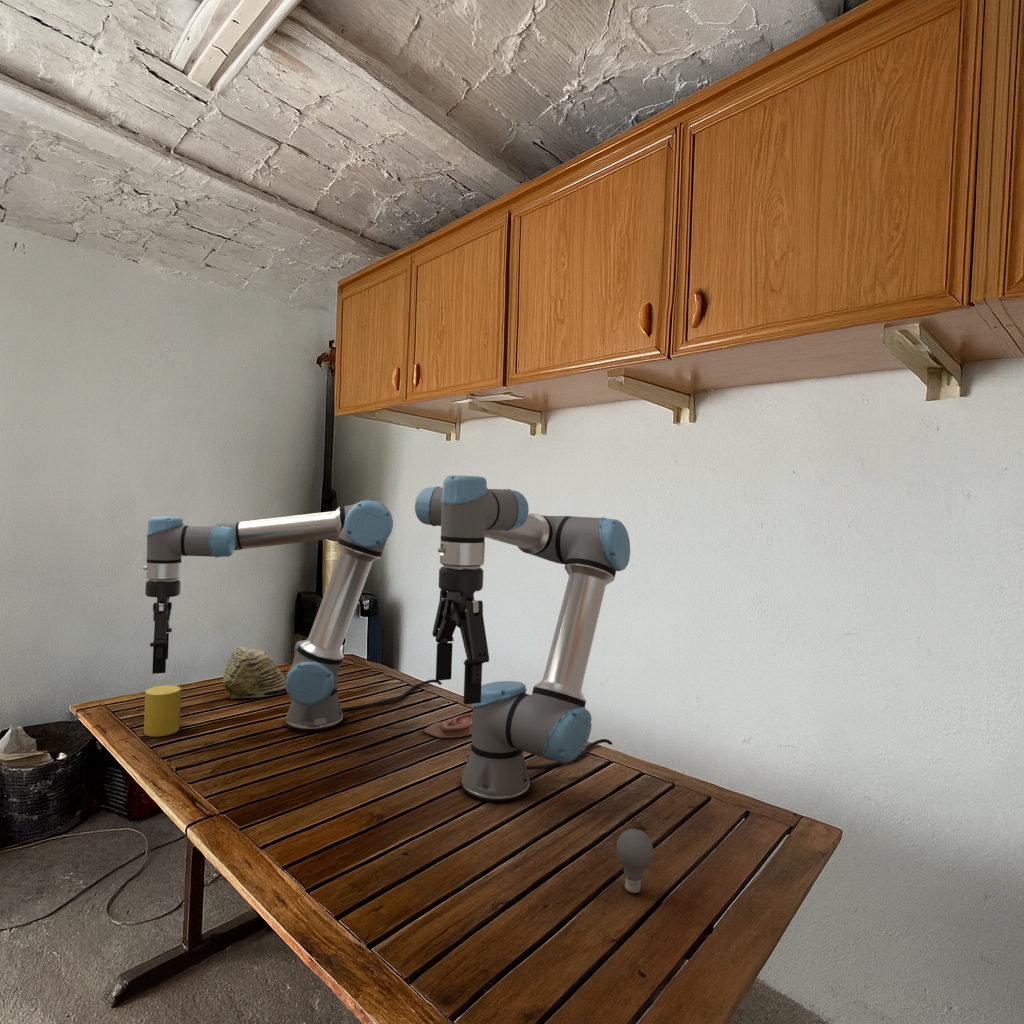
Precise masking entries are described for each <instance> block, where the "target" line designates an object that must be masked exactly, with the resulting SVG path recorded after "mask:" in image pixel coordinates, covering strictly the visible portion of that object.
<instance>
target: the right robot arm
mask: <svg viewBox="0 0 1024 1024" xmlns="http://www.w3.org/2000/svg"><path fill="white" fill-rule="evenodd" d="M414 503H415V504H414V512H415V516H416V518H417V519H418V521H419V522H420V523H422V524H423V525H427V526H432V527H440V543H439V544H440V546H438V547H437V552H438V553H439V564H441V565H442V566H440V568H439V569H438V588H439V589H440V590H439V602H438V606H437V610H436V615H435V618H434V619H435V620H434V624H433V628H432V637H433V638H435V642H436V662H435V680H437V681H448V680H452V670H453V669H452V668H453V642H455V639H454V636H453V635H454V633H455V631H456V628H459V630H460V634H461V639H462V644H463V647H464V652H465V656H466V659H465V660H464V661H463V665H464V674H463V676H464V678H463V681H464V682H463V700H462V701H463V704H464V705H471V707H472V712H471V713H472V734H471V744H470V752H469V756H468V757H466V764H465V767H464V770H463V772H462V774H461V790H462V791H463V793H465V794H466V795H468V796H469V797H471V798H473V799H476V800H479V801H481V802H487V803H488V802H489V803H508V802H512V801H517V800H519V799H522V798H523V797H525V796H527V794H528V793H529V791H530V784H531V783H530V782H531V781H530V775H529V771H533V770H542V769H548V768H554V767H558V766H563V765H565V764H568V763H572V762H574V761H577V760H579V759H581V758H583V757H584V756H585V755H586V754H587V753H588V750H589V749H590V748H592V747H594V746H597V745H599V744H603V743H606V744H608V745H610V746H611V745H613V742H612V741H611V740H609V739H608V738H601V739H597V740H595V741H593V742H591V743H588V741H589V738H590V735H591V731H592V725H593V724H592V715H591V713H590V711H589V709H587V708H586V704H587V699H586V697H585V696H584V693H583V692H582V688H583V685H584V682H585V681H584V680H585V677H586V672H587V669H588V664H589V659H590V656H591V651H592V646H593V643H594V638H595V633H596V631H597V625H598V622H599V617H600V613H601V609H602V605H603V599H604V597H605V596H604V595H605V592H606V587H607V586H608V585H610V584H611V583H613V582H614V581H615V578H616V574H617V572H622V571H625V569H626V568H627V566H628V565H629V562H630V559H631V541H630V536H629V532H628V530H627V527H626V526H625V525H624V524H623V522H622V521H620V520H619V519H614V518H607V517H604V516H603V517H589V516H571V515H542V514H538V513H534V512H531V513H529V512H530V511H529V509H530V508H529V503H528V500H527V498H526V497H525V495H523V493H521V492H520V491H517V490H513V489H510V488H488V483H487V478H485V477H484V476H478V475H477V476H476V475H459V474H458V475H457V474H455V475H453V474H452V475H451V474H450V475H447V476H446V477H444V479H443V481H442V487H441V486H433V487H432V486H431V487H430V486H429V487H424V488H423V489H421V490H420V491H419V492H418V494H417V496H416V498H415V502H414ZM486 538H487V539H490V540H494V541H497V542H500V543H504V544H508V545H512V546H516V547H517V548H518V550H520V551H521V552H522V553H525V554H528V555H531V556H534V557H538V558H540V559H543V560H546V561H549V562H551V563H555V564H558V565H559V564H560V565H564V570H565V572H566V573H567V575H568V579H567V583H566V587H565V591H564V594H563V599H562V603H561V605H560V611H559V615H558V617H557V623H556V626H555V630H554V633H553V637H552V642H551V646H550V650H549V653H548V658H547V661H546V665H545V669H544V673H543V677H542V680H541V681H539V682H538V683H535V684H534V685H533V688H532V692H531V694H528V693H527V686H526V684H524V683H523V682H520V681H514V680H502V681H501V680H499V681H491V682H488V683H484V684H482V680H483V679H482V678H483V664H484V663H489V662H490V653H489V647H488V640H487V633H486V626H485V620H484V604H483V603H484V602H483V600H475V595H474V594H475V593H476V592H481V591H482V590H483V588H484V569H483V568H482V567H481V566H483V565H484V564H485V553H486V551H485V550H486V549H485V548H486V542H485V539H486ZM587 743H588V744H587ZM524 752H525V753H528V754H531V755H534V756H537V757H539V758H543V759H545V760H547V761H549V762H551V761H553V762H551V763H545V764H538V765H536V764H535V765H527V764H526V761H525V757H524Z"/></svg>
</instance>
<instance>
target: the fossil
mask: <svg viewBox="0 0 1024 1024" xmlns="http://www.w3.org/2000/svg"><path fill="white" fill-rule="evenodd" d="M222 676H223V677H222V685H223V687H224V688H225V690H226V691H228V693H229V698H230V699H250V698H264V697H271V696H275V695H281V694H284V693H285V691H286V686H285V682H286V681H285V679H286V676H284V674H283V673H282V672H281V669H279V668H278V667H277V665H276V663H275V662H274V660H273V659H272V658H271V657H270V656H269V655H268V654H267V653H266V652H265V650H264V649H263V648H260V647H258V648H251V647H247V646H246V647H245V646H238V647H237V648H236V649H235V650H233V651H232V653H231V656H230V657H229V659H228V660H227V663H226V666H225V668H224V671H223V675H222Z"/></svg>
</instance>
